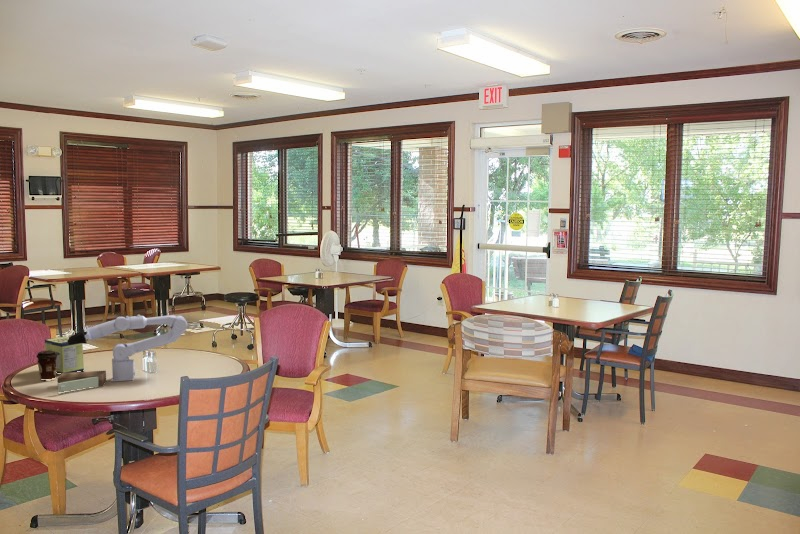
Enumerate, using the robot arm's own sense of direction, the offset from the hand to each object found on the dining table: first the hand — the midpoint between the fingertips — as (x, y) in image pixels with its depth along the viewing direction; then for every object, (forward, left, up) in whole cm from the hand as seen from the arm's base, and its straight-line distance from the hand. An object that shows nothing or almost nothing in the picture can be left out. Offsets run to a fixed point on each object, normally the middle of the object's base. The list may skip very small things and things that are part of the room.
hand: (68, 341), depth 298 cm
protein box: (+7, -25, -20) cm, 33 cm away
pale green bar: (-6, +13, -19) cm, 24 cm away
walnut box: (-6, +4, -19) cm, 20 cm away
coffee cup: (+11, -10, -19) cm, 25 cm away
